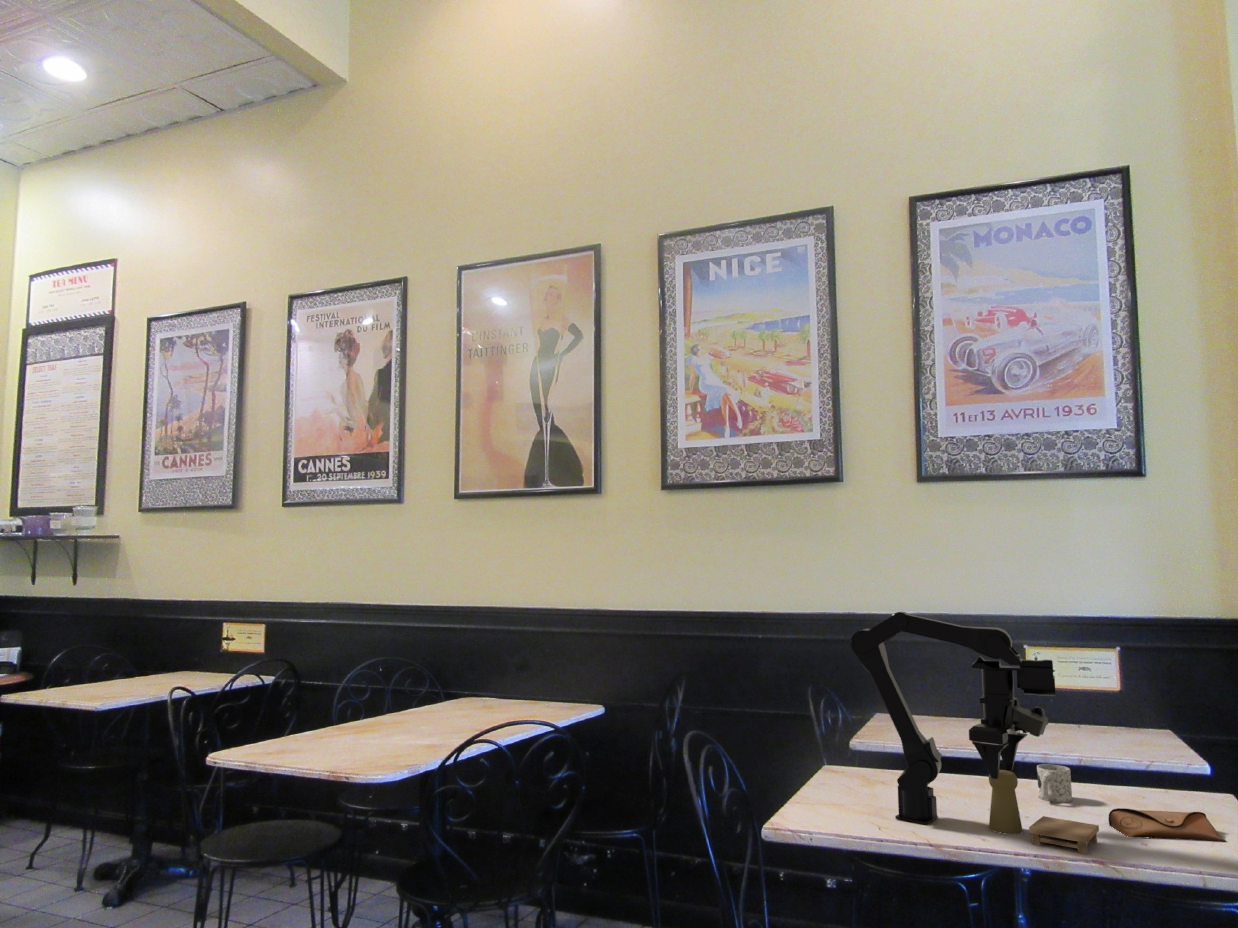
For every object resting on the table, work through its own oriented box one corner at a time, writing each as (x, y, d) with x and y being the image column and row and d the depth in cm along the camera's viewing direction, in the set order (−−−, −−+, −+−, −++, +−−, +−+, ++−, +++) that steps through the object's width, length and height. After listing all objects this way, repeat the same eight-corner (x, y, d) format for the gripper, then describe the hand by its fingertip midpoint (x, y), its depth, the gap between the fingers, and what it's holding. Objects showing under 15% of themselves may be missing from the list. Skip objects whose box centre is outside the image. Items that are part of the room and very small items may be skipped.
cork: (1026, 834, 165) (1023, 774, 166) (992, 832, 166) (989, 773, 167) (1018, 825, 170) (1015, 768, 172) (985, 824, 172) (982, 766, 173)
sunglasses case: (1127, 837, 163) (1117, 801, 167) (1114, 847, 168) (1105, 812, 172) (1231, 841, 160) (1218, 804, 164) (1215, 851, 166) (1203, 815, 170)
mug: (1044, 793, 196) (1042, 762, 197) (1076, 798, 191) (1074, 767, 192) (1028, 801, 189) (1026, 769, 190) (1061, 807, 184) (1059, 774, 185)
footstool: (1030, 843, 159) (1029, 826, 159) (1044, 832, 166) (1043, 815, 167) (1087, 854, 153) (1086, 836, 153) (1099, 842, 160) (1098, 825, 161)
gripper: (1028, 701, 159) (1032, 790, 157) (1054, 691, 173) (1059, 772, 171) (966, 696, 166) (969, 780, 164) (996, 686, 180) (1000, 764, 179)
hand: (1002, 774), depth 170 cm, fingers open, 9 cm apart
